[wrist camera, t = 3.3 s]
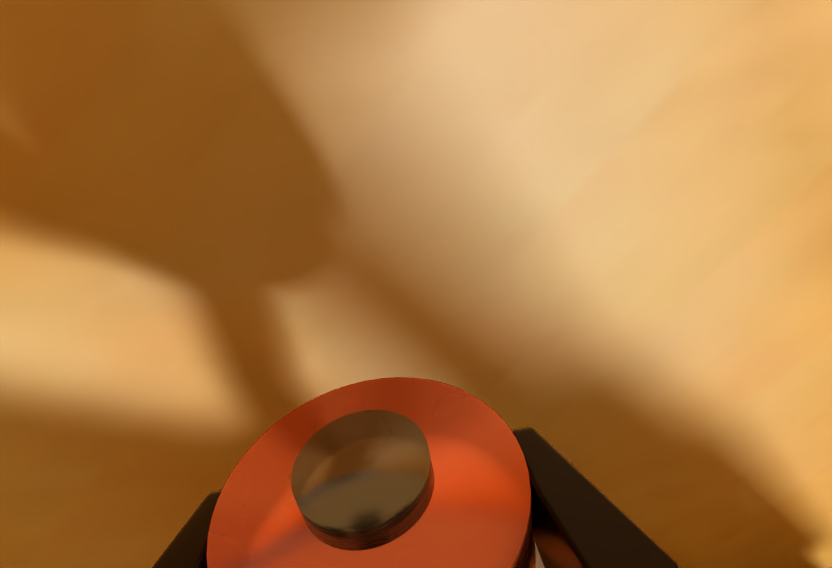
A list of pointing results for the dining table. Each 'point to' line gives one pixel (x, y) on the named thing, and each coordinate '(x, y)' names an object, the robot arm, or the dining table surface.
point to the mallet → (379, 485)
